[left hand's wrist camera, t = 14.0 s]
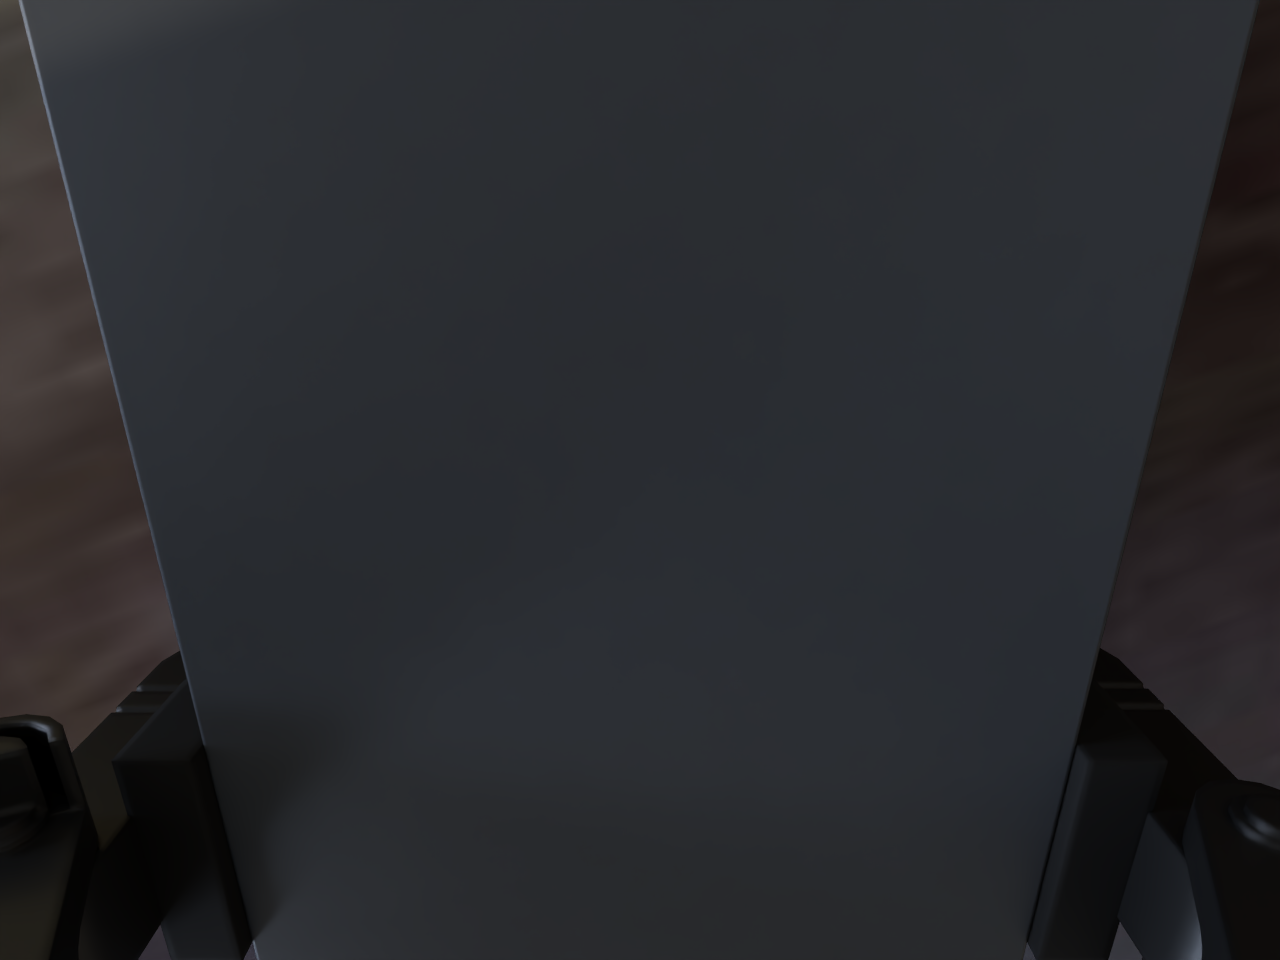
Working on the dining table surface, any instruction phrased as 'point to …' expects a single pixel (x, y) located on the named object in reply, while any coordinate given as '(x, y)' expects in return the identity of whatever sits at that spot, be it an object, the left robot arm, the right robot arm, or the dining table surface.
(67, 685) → the dining table surface
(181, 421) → the thick board
